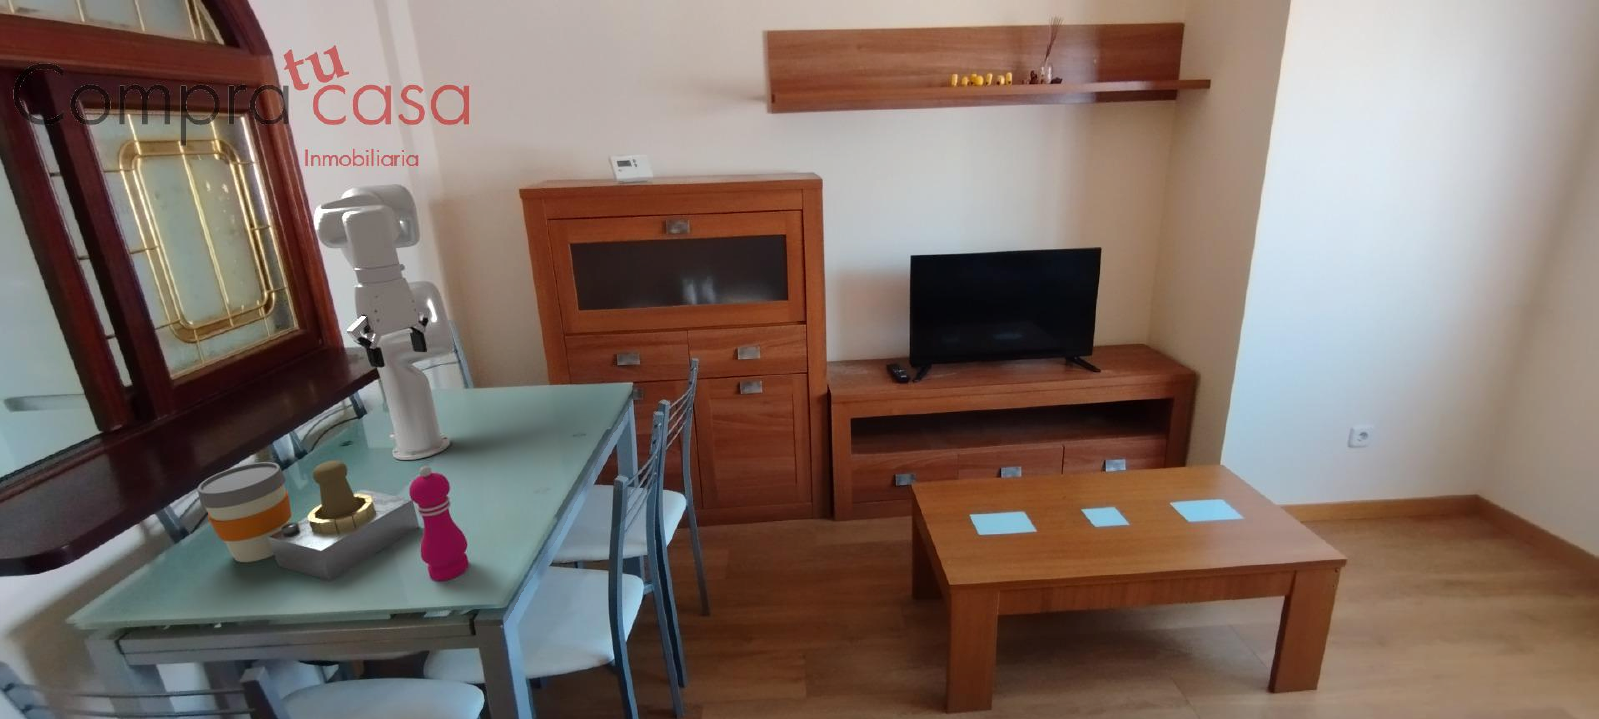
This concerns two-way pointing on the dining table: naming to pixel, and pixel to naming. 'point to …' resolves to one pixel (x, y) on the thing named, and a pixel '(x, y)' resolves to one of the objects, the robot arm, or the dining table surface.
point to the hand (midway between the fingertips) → (400, 358)
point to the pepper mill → (438, 527)
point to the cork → (335, 490)
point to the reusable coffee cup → (247, 508)
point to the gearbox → (343, 535)
